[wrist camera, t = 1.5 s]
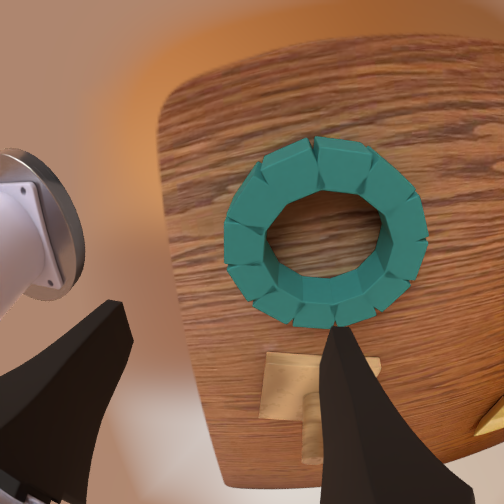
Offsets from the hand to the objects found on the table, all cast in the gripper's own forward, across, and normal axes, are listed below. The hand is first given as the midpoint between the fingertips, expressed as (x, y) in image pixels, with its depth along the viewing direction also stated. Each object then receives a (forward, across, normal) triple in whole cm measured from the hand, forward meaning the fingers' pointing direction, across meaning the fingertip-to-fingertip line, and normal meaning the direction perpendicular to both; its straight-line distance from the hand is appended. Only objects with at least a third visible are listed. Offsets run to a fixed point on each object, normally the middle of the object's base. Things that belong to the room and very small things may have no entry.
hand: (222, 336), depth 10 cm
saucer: (+9, -35, +22) cm, 42 cm away
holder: (+8, -6, +15) cm, 18 cm away
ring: (+8, -4, 0) cm, 9 cm away
